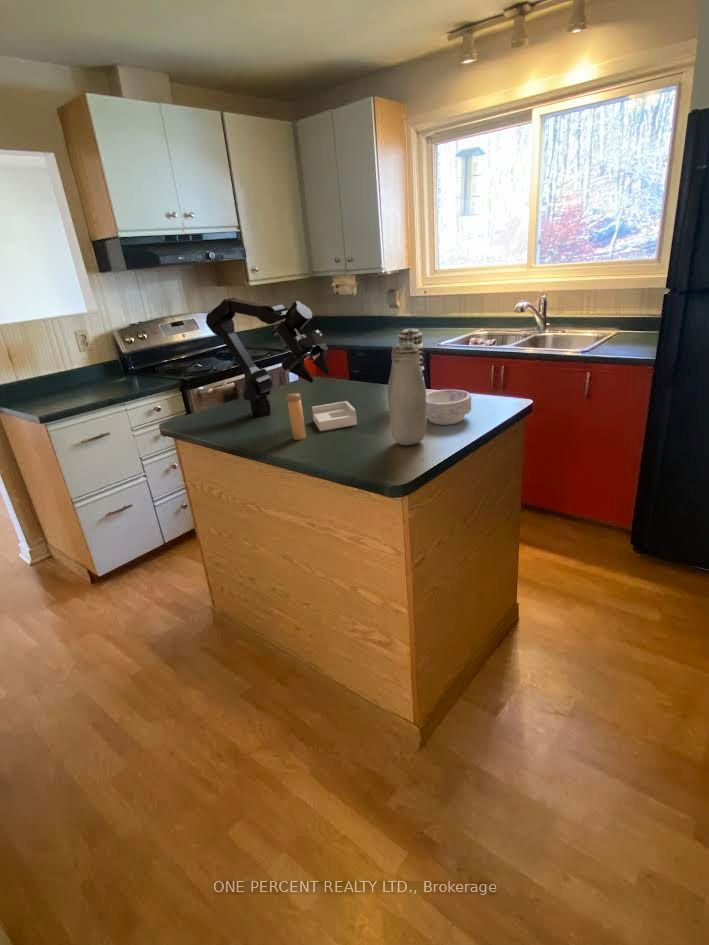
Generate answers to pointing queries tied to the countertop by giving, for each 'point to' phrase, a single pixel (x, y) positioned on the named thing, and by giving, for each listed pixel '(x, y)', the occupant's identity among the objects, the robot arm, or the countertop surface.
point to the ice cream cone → (296, 416)
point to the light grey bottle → (406, 395)
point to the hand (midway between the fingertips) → (320, 378)
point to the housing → (334, 415)
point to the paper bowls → (447, 406)
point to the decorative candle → (416, 338)
